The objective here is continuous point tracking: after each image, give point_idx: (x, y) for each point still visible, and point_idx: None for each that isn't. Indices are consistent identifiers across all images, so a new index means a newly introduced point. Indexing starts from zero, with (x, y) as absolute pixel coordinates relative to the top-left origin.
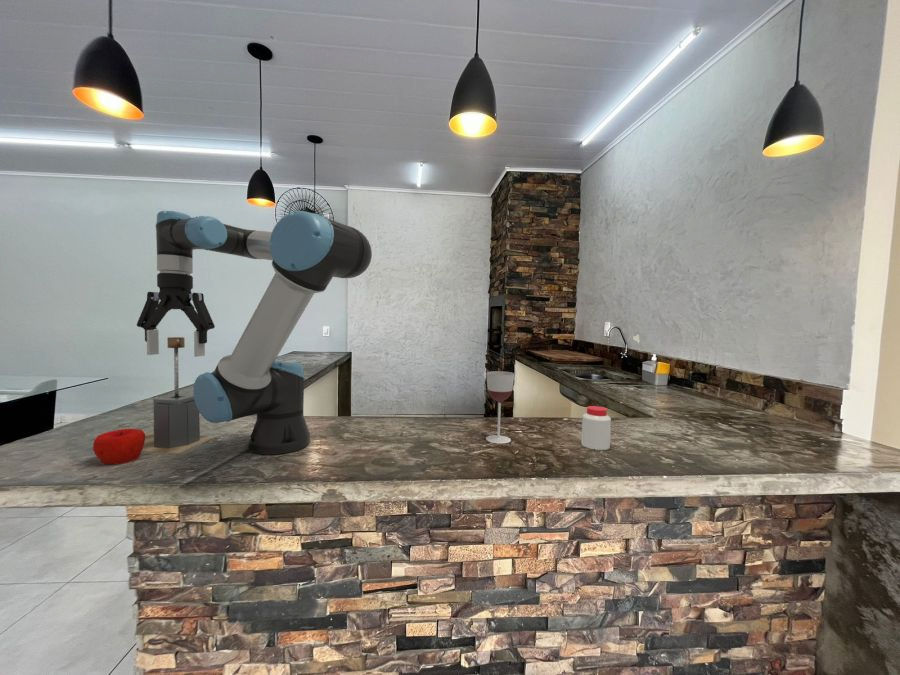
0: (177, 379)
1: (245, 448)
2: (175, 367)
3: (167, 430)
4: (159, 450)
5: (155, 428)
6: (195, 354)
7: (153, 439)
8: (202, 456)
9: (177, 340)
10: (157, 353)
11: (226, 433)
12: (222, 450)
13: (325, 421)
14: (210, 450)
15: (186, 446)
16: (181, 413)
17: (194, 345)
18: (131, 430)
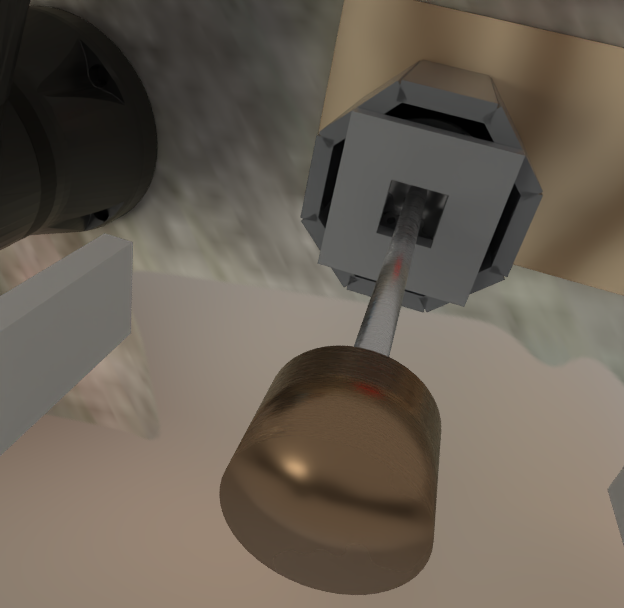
0: (388, 252)
1: (161, 95)
2: (385, 290)
3: (420, 66)
4: (446, 27)
5: (486, 84)
6: (106, 245)
7: (547, 193)
8: (269, 4)
9: (264, 419)
10: (617, 485)
11: (315, 288)
12: (231, 77)
13: None
14: (275, 80)
15: (359, 80)
16: (353, 107)
17: (48, 292)
18: None
